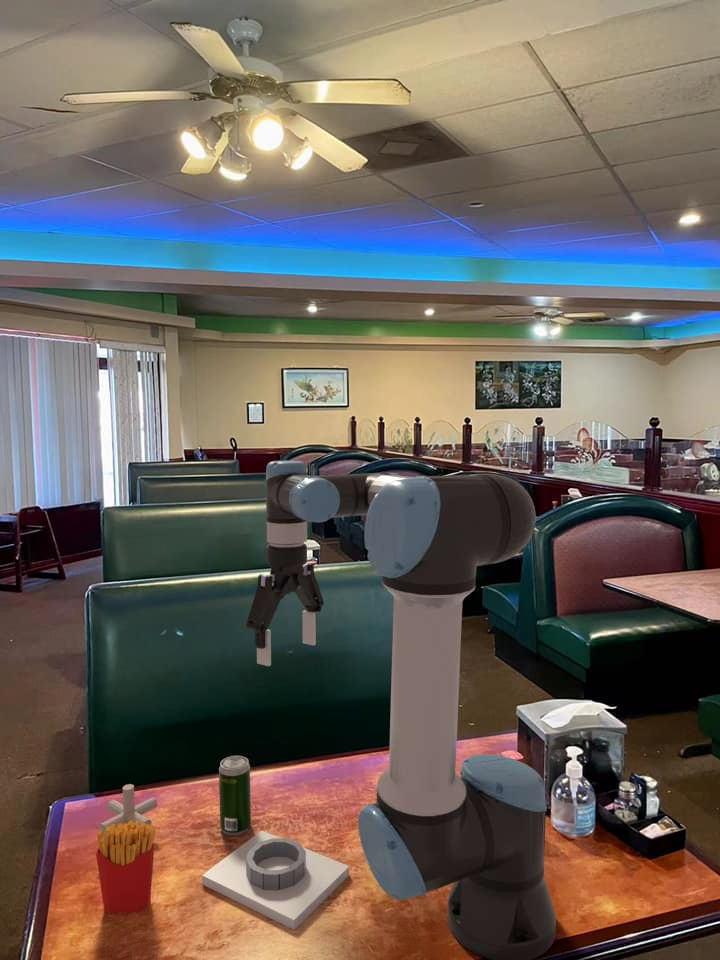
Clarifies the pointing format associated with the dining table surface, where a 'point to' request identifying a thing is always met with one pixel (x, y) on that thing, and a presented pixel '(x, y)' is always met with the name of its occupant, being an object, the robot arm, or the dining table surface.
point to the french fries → (126, 866)
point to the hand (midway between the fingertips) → (287, 653)
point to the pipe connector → (128, 809)
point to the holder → (276, 878)
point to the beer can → (234, 795)
